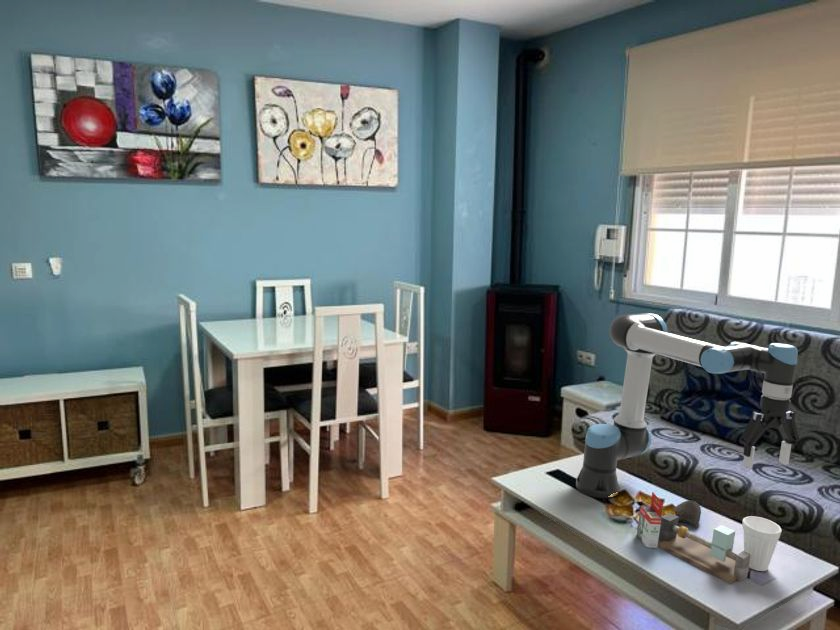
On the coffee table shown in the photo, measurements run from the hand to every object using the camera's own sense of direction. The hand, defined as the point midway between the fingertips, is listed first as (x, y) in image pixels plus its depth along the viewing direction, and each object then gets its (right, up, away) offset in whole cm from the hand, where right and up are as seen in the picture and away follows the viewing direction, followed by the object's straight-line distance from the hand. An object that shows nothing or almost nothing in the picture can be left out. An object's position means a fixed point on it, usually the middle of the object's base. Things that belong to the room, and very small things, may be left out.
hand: (765, 465), depth 182 cm
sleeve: (-17, -25, -7) cm, 31 cm away
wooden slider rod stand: (-20, -27, -2) cm, 34 cm away
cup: (-6, -29, -5) cm, 29 cm away
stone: (-15, -24, +21) cm, 35 cm away
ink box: (-33, -25, +6) cm, 42 cm away
